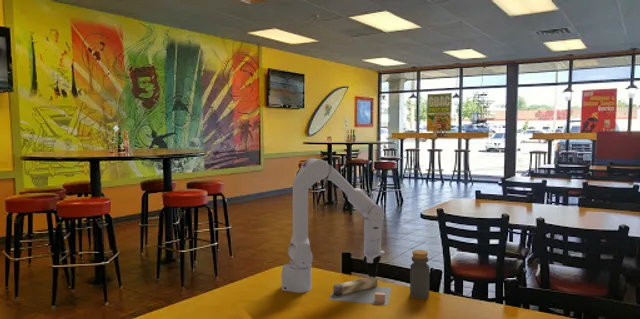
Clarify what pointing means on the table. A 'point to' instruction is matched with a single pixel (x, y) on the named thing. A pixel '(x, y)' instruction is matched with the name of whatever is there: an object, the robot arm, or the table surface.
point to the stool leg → (354, 285)
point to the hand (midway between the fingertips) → (372, 277)
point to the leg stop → (380, 297)
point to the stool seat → (364, 296)
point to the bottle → (419, 275)
